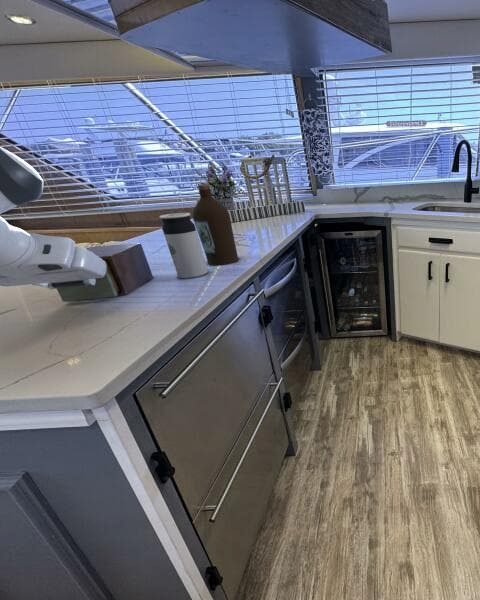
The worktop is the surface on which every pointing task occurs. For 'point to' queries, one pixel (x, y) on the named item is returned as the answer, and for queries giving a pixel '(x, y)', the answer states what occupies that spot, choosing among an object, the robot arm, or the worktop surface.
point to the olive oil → (214, 229)
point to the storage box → (126, 264)
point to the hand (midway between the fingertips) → (74, 284)
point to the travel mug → (184, 245)
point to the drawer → (89, 287)
